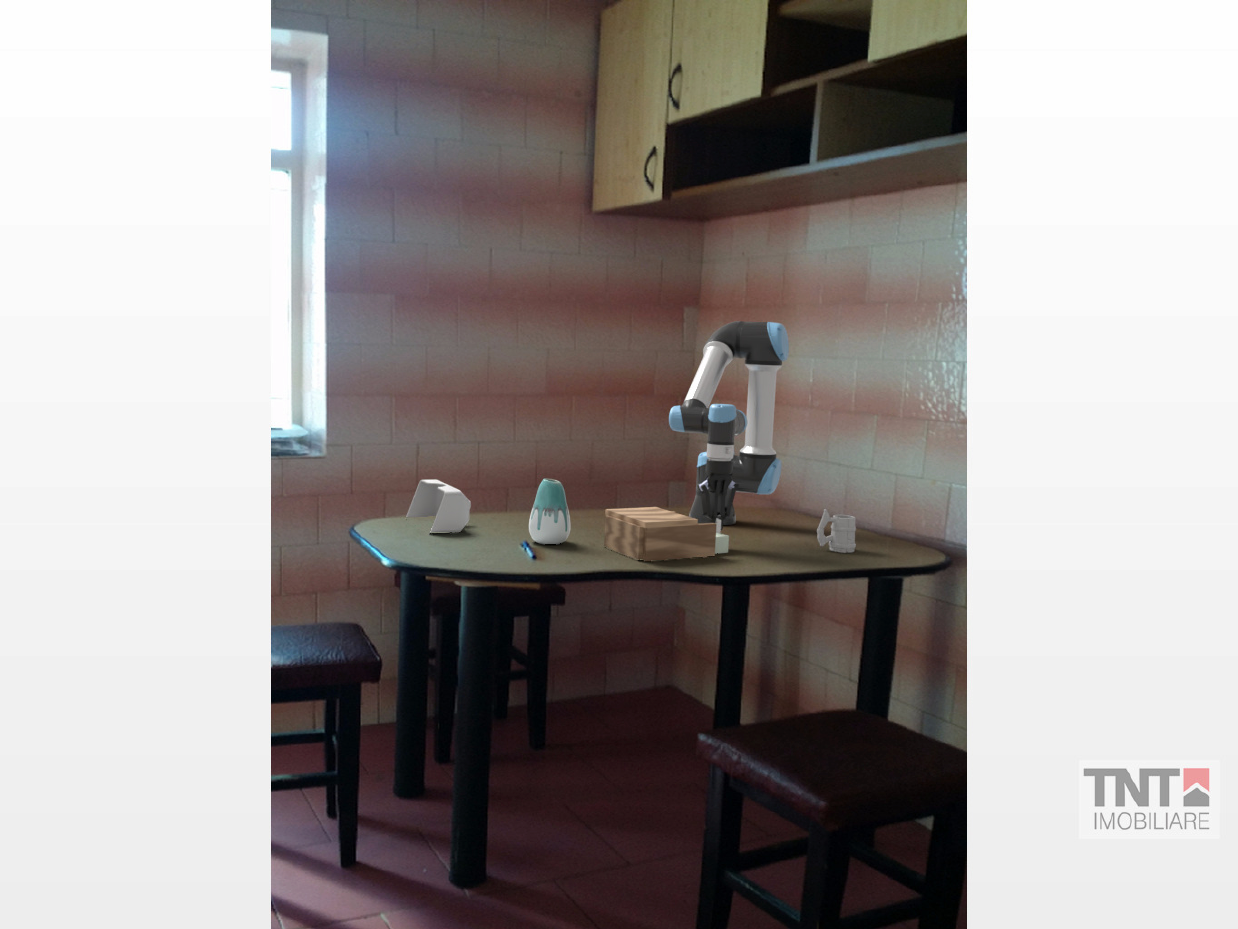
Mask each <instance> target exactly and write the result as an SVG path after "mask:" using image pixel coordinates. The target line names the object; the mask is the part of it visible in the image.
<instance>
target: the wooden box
mask: <svg viewBox="0 0 1238 929" xmlns="http://www.w3.org/2000/svg"><path fill="white" fill-rule="evenodd" d="M604 512H605V513H604V514H605V522H604V523H605V524H604V542H603V544H604V545H603V547H604V546H606V547H608V548H610V549H613V550H615V551H617V552H620V553H622V554H625V555H627V556H631V557H634V558H636V559H639V560H640V559H643V560H645V561H651V560H664V561H667V560H666V559H677V560H681V559H680V558H690V559H693V558H692V557H703V558H708V557H707V556H715V555H716V554H715V542H716V525H717V524H715V523H704V524H699V523H698V519H694V518H691V517H689V515H684V514H680V513H678V512H677V511H674V510H671V511H670V510H668V509H663V508H660V507H658V506H650V507H646V506H645V507H628V508H626V507H625V508H607V509H605V511H604ZM645 561H644V562H645ZM651 562H652V561H651Z"/></svg>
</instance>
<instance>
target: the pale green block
mask: <svg viewBox="0 0 1238 929" xmlns="http://www.w3.org/2000/svg"><path fill="white" fill-rule="evenodd" d="M729 538H730V535H727V534H724V533H722V532H721V533H717V532H716V542H715V555H716V554H717V553H718V554H725V553H726V554H727V553H729V543H730V542H729V540H730V539H729Z"/></svg>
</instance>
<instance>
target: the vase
mask: <svg viewBox="0 0 1238 929" xmlns="http://www.w3.org/2000/svg"><path fill="white" fill-rule="evenodd" d="M534 499H535V500H534V502H533V506H532V508H531V512H530V516H529V520H528V532H529V534H530V537H531V539H532V540H533V541H534V542H536V543H538V544H540V545H545V544H556V545H561V544H563V543H564V542H565V541H566V540H568V537H569V536H570V532H571V516H570V512H569V507H568V504H567V499H566V492H565V489H564V486H563V483H562V482H561V481H559V480H556V479H553V478H543V479H542V481H541V483H540V484H539V486H538V489H537V491H536V495H535V498H534ZM560 543H561V544H560Z"/></svg>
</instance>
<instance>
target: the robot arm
mask: <svg viewBox="0 0 1238 929" xmlns="http://www.w3.org/2000/svg"><path fill="white" fill-rule="evenodd" d="M789 351H790V345H789V336H788V332H787V328H786V327H785V325H783V323H781V322H780V323H779V322H773V321H743V320H736V321H731V322H728V323H726V324H724V325H723V326H721V327H719V328H718V329H717V330H715V331H714V332H713V333H712V334H711V335H710V337H708V339H707V340H706V342H705V344H704V347H703V349H702V353H703V357H702V359H701V362H700V363H699V366H698V369H697V371H696V373H695V375H694V377H693V380H692V382H691V385H690V387H689V389H688V392H687V393H686V396H685V398H684V401H683V402H682V405H674V406H672V407H671V408H670V411H669V415H668V423H669V427H670V429H671V430H672V431H675V432H680V433H690V434H705V435H707V443H706V451H704V452H703V451H702V452H700V453H699V455H698V457H697V465H696V482H695V483H696V486H695V497H694V500H693V503H692V504H691V505H692V506H691V508H690V510H689V513H688V517H691V518H694V519H698V524H704V523H715V524H717V525H716V532H717V533H721V534H722V532H721V531H723V528H724V526H729V525H734V524H736V521H737V519H736V518H737V516H736V511H735V508H734V504H733V503H734V499H735V496H736V493H747V494H749V493H750V494H757V495H771V494H773V493H774V492H775V490H776V489H777V487H778V485H779V482H780V478H781V473H782V460H781V459H779V458H778V457H777V452H776V450H775V449H774V448H773V436H774V434H773V433H774V420H775V417H774V416H775V405H776V403H775V402H776V389H777V372H778V371H779V370H780V369H781V368H782V367H783V362H784V361H787V360H788V358H789V353H790V352H789ZM733 359H744V366H745V367H746V368H747V369H748V386H747V399H746V400H747V402H746V404H747V405H746V414H745V413H744V412H743V411H742V410H739V409H737V407H736V406H735V405H734V404H730V403H729V404H727V403H713V404H711V403H712V401H713V397H714V396H715V393H716V390H717V388H718V385H719V384H720V381H721V379H722V376H723V374H724V371H725V369H726V366H728V365H729V364H730V363H731V362H732V361H733ZM744 431H745V435H744V436H745V437H744V446H743V447H742V448H741V449H740V450H739V455H737V454H736V453H735V438H736V437H735V436H739V435H741V434H742V433H743V432H744Z"/></svg>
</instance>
